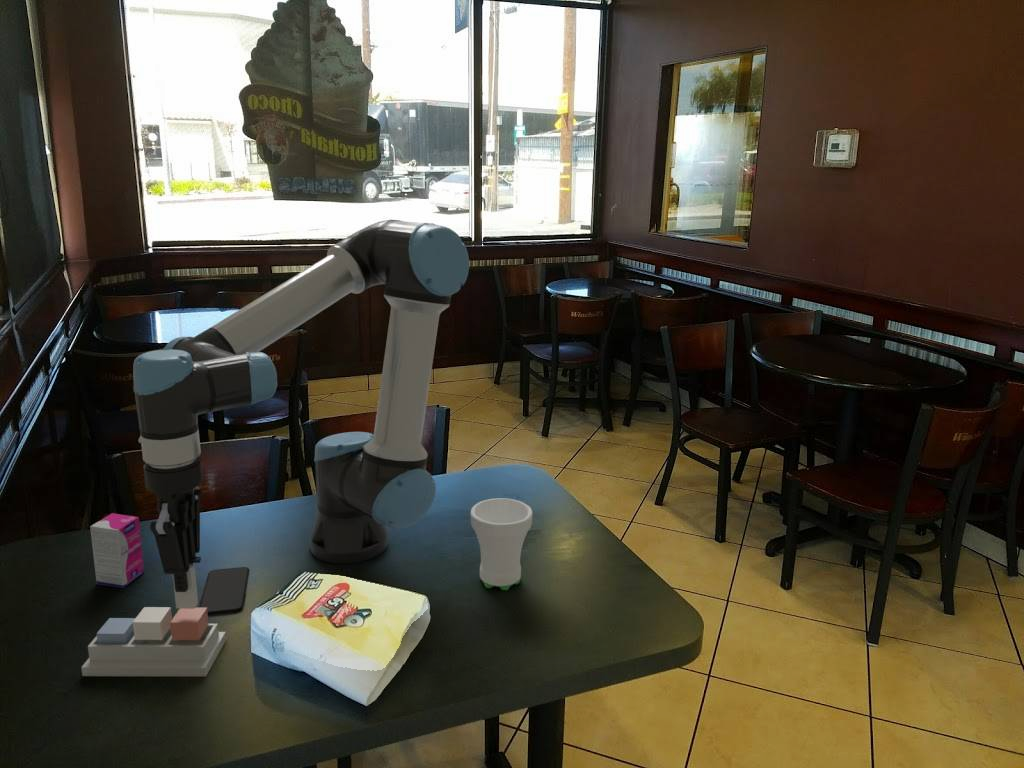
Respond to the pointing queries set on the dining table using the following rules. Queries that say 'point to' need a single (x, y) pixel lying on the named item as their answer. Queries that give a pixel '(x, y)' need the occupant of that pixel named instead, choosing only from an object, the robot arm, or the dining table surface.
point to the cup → (501, 539)
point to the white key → (152, 623)
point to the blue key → (116, 631)
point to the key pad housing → (156, 656)
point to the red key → (189, 623)
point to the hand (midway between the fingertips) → (187, 605)
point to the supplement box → (117, 550)
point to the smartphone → (225, 590)
